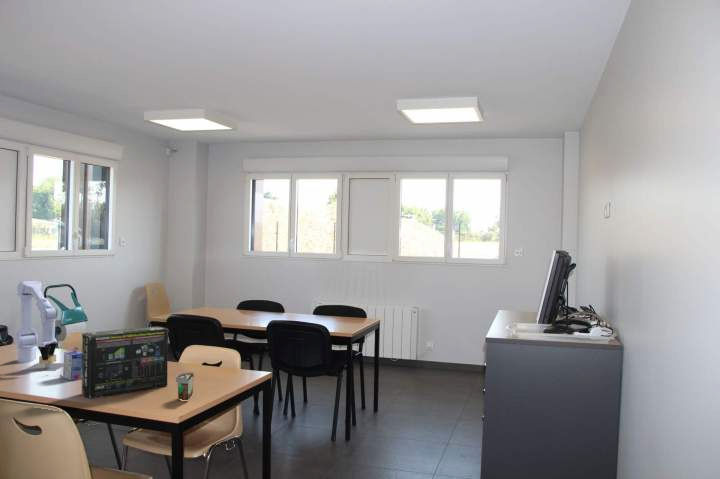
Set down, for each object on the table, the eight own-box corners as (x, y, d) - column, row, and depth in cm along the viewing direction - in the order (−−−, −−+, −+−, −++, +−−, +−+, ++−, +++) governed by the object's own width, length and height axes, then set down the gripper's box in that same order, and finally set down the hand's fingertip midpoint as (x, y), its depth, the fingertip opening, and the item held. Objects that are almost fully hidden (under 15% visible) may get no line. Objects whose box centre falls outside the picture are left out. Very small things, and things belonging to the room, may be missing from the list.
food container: (179, 394, 251) (179, 371, 251) (193, 394, 251) (193, 372, 252) (172, 402, 239) (172, 378, 239) (187, 402, 239) (187, 378, 239)
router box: (158, 381, 273) (159, 325, 273) (168, 386, 265) (170, 328, 265) (78, 394, 249) (80, 332, 249) (87, 399, 241) (88, 335, 241)
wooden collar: (44, 361, 293) (44, 354, 293) (56, 361, 293) (56, 354, 293) (39, 363, 287) (39, 356, 287) (51, 363, 288) (51, 356, 288)
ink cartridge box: (82, 379, 275) (83, 348, 275) (70, 380, 271) (71, 350, 271) (74, 375, 282) (75, 345, 282) (62, 377, 278) (63, 347, 278)
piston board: (37, 365, 301) (37, 355, 301) (69, 365, 303) (69, 355, 303) (20, 373, 283) (21, 362, 283) (54, 373, 285) (55, 362, 285)
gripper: (50, 334, 284) (49, 361, 283) (62, 329, 298) (61, 355, 298) (35, 334, 283) (34, 361, 283) (48, 329, 297) (47, 355, 297)
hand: (47, 358), depth 290 cm, fingers closed on wooden collar, 6 cm apart
